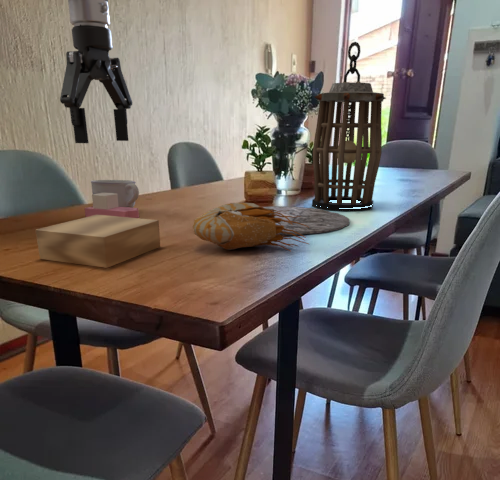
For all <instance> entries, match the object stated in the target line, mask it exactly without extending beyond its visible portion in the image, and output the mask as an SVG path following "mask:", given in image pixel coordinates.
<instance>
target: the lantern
mask: <svg viewBox="0 0 500 480" xmlns="http://www.w3.org/2000/svg"><path fill="white" fill-rule="evenodd" d="M353 47H356V48H357V53H356V55H355V54H351V53H352V52H351V51H352V48H353ZM360 55H361V45H360V42H357V41H353V42H351V43H350V45H348V48H347V57H348V59H349V68H348V69H347V70H346V72H345V74H344V75H343V77H344V78H343V82H334V83H332V84H331V86H330V88H329V91H328V92H321V93H317V95H315V96H314V98H315V99H316V100H317V102H319V104H318V105H319V106H318V112H317V119H316V128H315V132H314V139H313V141H314V142H313V147H312V163H313V164H312V167H313V179H314V198H312V199H311V207H313V208H314V209H321V210H326V211H330V212H346V213H347V212H348V213H349V212H365V211H370V209H371V210H372V209H373V207H374V200H373V197H374V192H375V191H374V190H375V184H376V180H377V177H378V176H377V175H378V172H379V168H380V163H381V159H382V152H383V151H382V149H383V148H382V145H383V144H382V143H383V134H382V132H383V131H382V109H383V108H382V107H383V106H382V104H383V102H384V100H387V97H386V96H385V94H384V93H383V92H375V91H374V90H373V87H372V84H371V83H370V82H361V74H360V72H359V69H358V68H357V61H358V59H359V57H360ZM349 74H351V75H354V74H355V75H356V78H357V79H356V81H355V82H350V81H348V76H349ZM357 103H358V115H357V122H356V109H357ZM335 108H336V110H335ZM369 118H370V119H369ZM334 119H335V120H334ZM369 121H370V122H369ZM333 128H334V132H333ZM356 128H357V129H356ZM355 129H356V143H355ZM332 133H333V142H332V143H333V144H332V145H331V138H332ZM330 154H332V157H331V158H332V159H331V179H330ZM345 164H346V169H345V167H344V166H345ZM353 164H354V169H353V177H352V179H351V176H352V166H353ZM344 169H345V170H344ZM344 171H345V172H344ZM365 172H366V173H365ZM344 173H345V178H344ZM364 178H365V179H364ZM350 184H352V185H350ZM350 190H351V195H350ZM330 200H337V203H332V202H329V201H330ZM342 200H351V203H342ZM356 200H358V201H361V202H360V203H356ZM372 204H373V205H372ZM316 205H317V206H316ZM370 205H372V207H368V208H361V209H339V208H353V207H365V206H370ZM320 206H321V207H320ZM327 207H328V208H327Z"/></svg>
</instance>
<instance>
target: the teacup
mask: <svg viewBox="0 0 500 480" xmlns="http://www.w3.org/2000/svg"><path fill="white" fill-rule="evenodd" d="M90 184H91V196H92V195H93V194H98V193H116V194H117V196H118V207H129V208H135V206H136V201H137V200H138V198H139V195H140V192H139V191H140V190H139V187H138V185H136V181H135V180H127V179H126V180H125V179H94V180H93V179H92V180H90Z"/></svg>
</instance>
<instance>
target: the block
mask: <svg viewBox="0 0 500 480" xmlns="http://www.w3.org/2000/svg"><path fill="white" fill-rule="evenodd" d="M159 221H160V220H158V219H151V218H150V219H149V218H140V217H139V218H129V217H118V216H107V215H93V216H89V217H86V216H85V217H81V218H78V219H73V220H69V221H65V222H61V223H57V224H53V225H49V226H45V227H40V228H37V229H35V237H36V243H37V251H38V255H39V259H40V260H44V261H45V260H46V261H51V262H52V261H54V262H60V263H67V264H68V263H69V264H76V265H83V266H90V267H98V268H103V269H104V268H105V269H108V268H111V267H113V266H117V265H119V264H121V263H124V262H126V261H128V260H131V259H133V258H136V257H138V256H142V255H144V254H146V253H149V252H151V251H155V250H156V249H159V248H161V235H160V234H161V233H160V222H159Z"/></svg>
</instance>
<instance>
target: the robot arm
mask: <svg viewBox="0 0 500 480" xmlns="http://www.w3.org/2000/svg"><path fill="white" fill-rule="evenodd" d="M67 5H68V12H69V13H68V14H69V22H70V24H71V25H72V26H73V27H72V28H71V36H72V44H73V48H74V49H75V50H70V51H66V52H65V57H66V58H65V59H66V67H65V71H64V76H63V80H62V81H63V82H62V87H61V92H60V96H59V101H60V103H61V104H62V105H63V106H64V108H66V109H67V108H68V109H69V113H70V115H69V116H70V121H71V125H72V127H73V134H74V142H75V144H89V134H88V126H87V118H86V110H85V107H82V105H83V103H84V100H85V98H86V94H87V92H88V90H89V88H90V85H91V83H92V81H94V80H95V81H99V83H101V84H102V86H103V87H104V89H105V90H106V92H107V93H108V96H109V97H110V99H111V101H112V103H113V105H114V106H115V108H114V109H113V118H114V128H115V138H116V139H115V140H116V141H117V142H126V141H127V142H129V130H128V113H127V112H128V111H127V110H129V109H130V110H131V108H132V106H133V100H132V97H131V95H130V91H129V88H128V85H127V82H126V80H125V77H124V74H123V71H122V66H121V60H120V58H119V57H110V54H109V53H110V51H112V50H113V39H112V37H113V36H112V30H111V29H110V28H108V27H109V26H110V25H111V20H110V11H109V0H67Z"/></svg>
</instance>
